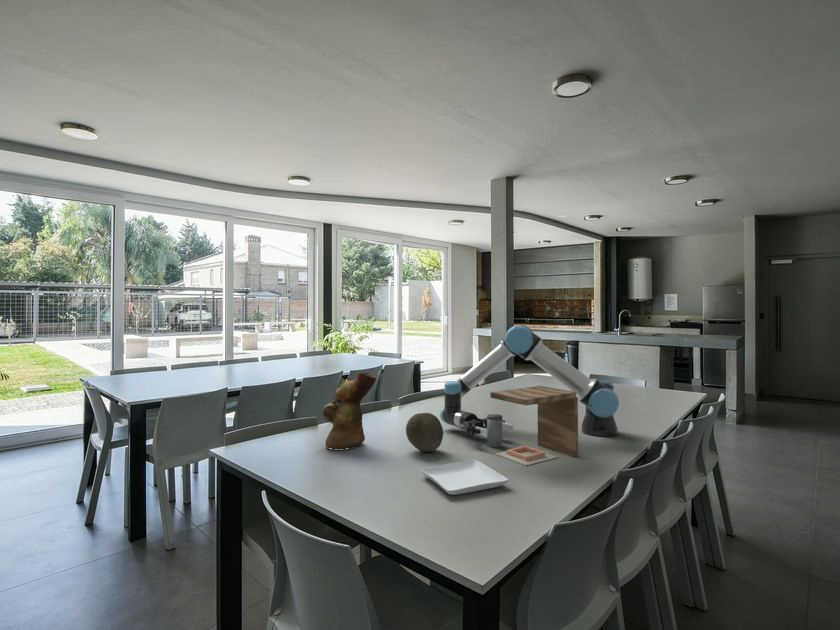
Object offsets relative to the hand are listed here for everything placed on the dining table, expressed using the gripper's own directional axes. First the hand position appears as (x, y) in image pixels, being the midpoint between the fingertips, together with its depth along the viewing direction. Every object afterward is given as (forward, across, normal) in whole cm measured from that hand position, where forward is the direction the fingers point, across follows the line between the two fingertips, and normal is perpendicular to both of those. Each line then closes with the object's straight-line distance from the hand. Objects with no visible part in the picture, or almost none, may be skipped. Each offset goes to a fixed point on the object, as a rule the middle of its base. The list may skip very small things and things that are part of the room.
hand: (499, 430), depth 187 cm
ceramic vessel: (-37, +48, -7) cm, 61 cm away
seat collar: (+14, 0, -6) cm, 15 cm away
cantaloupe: (-12, +28, -7) cm, 31 cm away
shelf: (+16, -2, -6) cm, 17 cm away
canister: (-3, 0, -6) cm, 7 cm away
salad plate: (+22, +36, -7) cm, 43 cm away
